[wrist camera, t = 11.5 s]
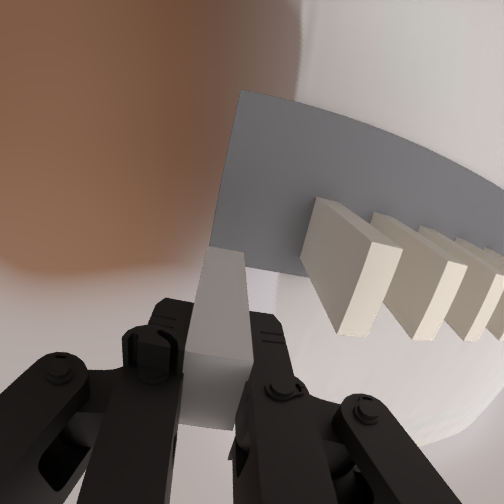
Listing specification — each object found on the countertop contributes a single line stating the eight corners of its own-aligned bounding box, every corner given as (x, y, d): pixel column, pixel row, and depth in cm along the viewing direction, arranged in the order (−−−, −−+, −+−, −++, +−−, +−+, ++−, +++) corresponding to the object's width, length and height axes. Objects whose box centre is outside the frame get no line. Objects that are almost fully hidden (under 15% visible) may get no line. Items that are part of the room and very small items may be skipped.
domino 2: (373, 211, 22) (448, 260, 13) (391, 216, 23) (467, 265, 13) (355, 268, 24) (411, 339, 15) (373, 271, 24) (432, 340, 15)
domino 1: (316, 196, 22) (372, 241, 13) (338, 202, 22) (403, 249, 13) (299, 257, 24) (336, 334, 14) (320, 261, 24) (366, 336, 15)
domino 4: (456, 236, 24) (527, 282, 14) (467, 240, 24) (536, 285, 15) (438, 283, 25) (498, 340, 16) (449, 285, 26) (509, 340, 16)
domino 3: (420, 225, 23) (496, 273, 14) (434, 229, 23) (509, 277, 14) (401, 276, 25) (463, 341, 16) (415, 279, 25) (477, 341, 16)
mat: (240, 90, 19) (240, 89, 19) (527, 206, 23) (529, 207, 23) (207, 257, 24) (206, 259, 23) (491, 304, 28) (493, 305, 27)
